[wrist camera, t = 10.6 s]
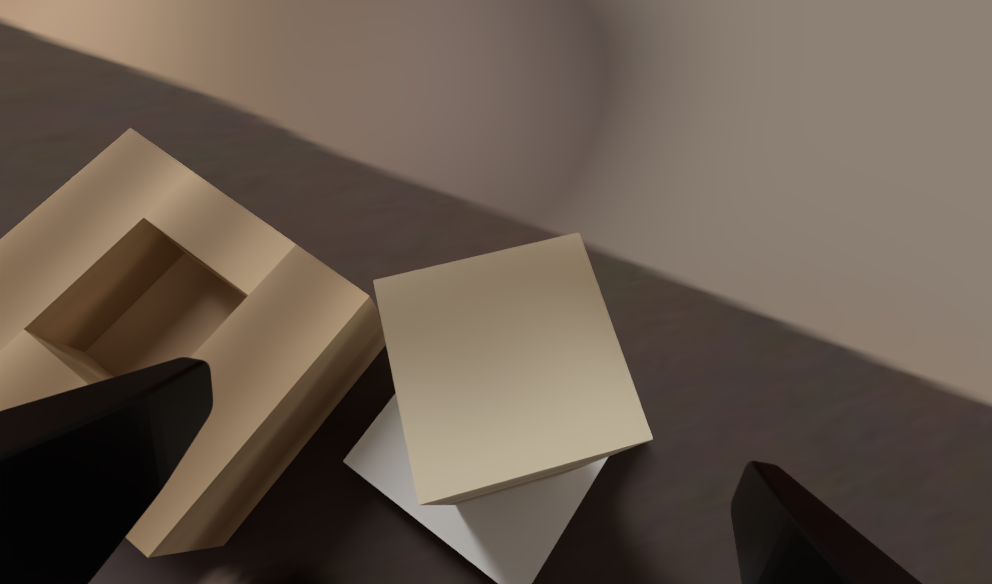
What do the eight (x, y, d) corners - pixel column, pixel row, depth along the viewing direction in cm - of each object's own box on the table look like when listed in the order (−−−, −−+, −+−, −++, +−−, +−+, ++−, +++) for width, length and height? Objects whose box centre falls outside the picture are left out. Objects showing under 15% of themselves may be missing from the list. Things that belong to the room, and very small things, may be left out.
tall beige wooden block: (560, 475, 20) (653, 438, 9) (455, 505, 20) (418, 505, 9) (530, 372, 22) (579, 232, 11) (431, 398, 21) (372, 280, 10)
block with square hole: (392, 337, 24) (369, 296, 19) (223, 545, 21) (147, 557, 16) (193, 195, 26) (130, 127, 21) (15, 364, 23) (-104, 328, 18)
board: (627, 415, 23) (636, 409, 21) (518, 595, 20) (521, 601, 19) (470, 309, 24) (469, 297, 23) (351, 464, 22) (342, 461, 20)
